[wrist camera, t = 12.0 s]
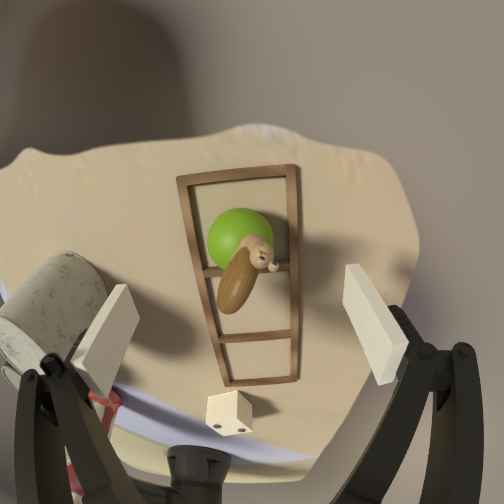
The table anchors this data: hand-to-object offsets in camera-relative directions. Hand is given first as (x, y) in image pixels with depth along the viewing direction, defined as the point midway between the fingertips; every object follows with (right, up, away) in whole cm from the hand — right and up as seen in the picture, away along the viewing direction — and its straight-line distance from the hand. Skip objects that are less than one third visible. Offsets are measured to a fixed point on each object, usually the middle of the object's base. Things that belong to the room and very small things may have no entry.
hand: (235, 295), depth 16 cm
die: (-2, -20, +22) cm, 30 cm away
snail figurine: (0, +5, +9) cm, 11 cm away
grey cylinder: (-20, -1, +12) cm, 24 cm away
